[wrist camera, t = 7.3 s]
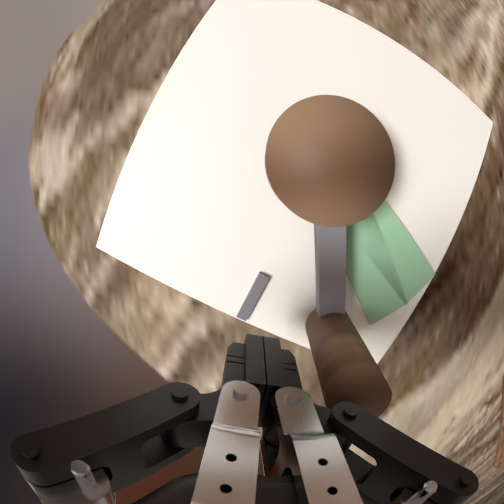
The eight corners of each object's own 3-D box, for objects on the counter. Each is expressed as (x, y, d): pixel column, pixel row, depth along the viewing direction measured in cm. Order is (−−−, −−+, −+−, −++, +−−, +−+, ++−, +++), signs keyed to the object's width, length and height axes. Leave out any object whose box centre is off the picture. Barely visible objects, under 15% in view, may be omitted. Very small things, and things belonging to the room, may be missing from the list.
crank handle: (259, 109, 14) (258, 51, 7) (370, 109, 13) (440, 67, 6) (276, 346, 17) (283, 435, 10) (372, 336, 16) (419, 411, 9)
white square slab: (239, -3, 15) (236, -28, 11) (469, 126, 16) (495, 122, 13) (117, 237, 19) (93, 248, 16) (359, 349, 21) (372, 373, 17)
